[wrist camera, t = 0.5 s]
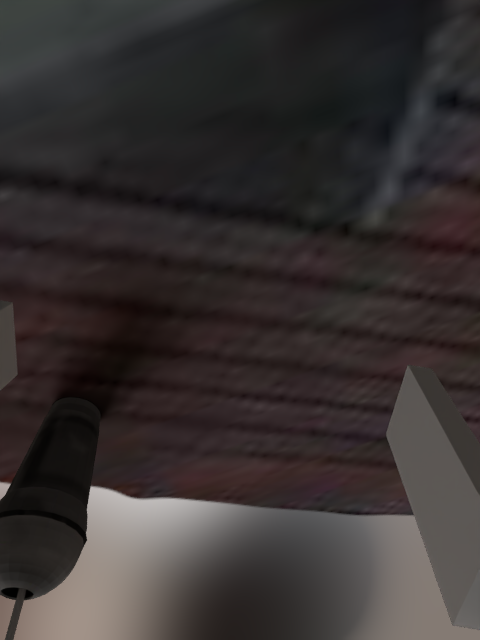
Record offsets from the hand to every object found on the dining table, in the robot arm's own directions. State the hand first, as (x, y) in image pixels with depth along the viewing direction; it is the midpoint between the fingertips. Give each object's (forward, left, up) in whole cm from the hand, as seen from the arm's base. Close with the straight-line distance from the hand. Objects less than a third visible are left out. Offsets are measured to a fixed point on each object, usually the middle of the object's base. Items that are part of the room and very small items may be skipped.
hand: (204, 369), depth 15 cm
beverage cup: (+23, -13, -18) cm, 32 cm away
